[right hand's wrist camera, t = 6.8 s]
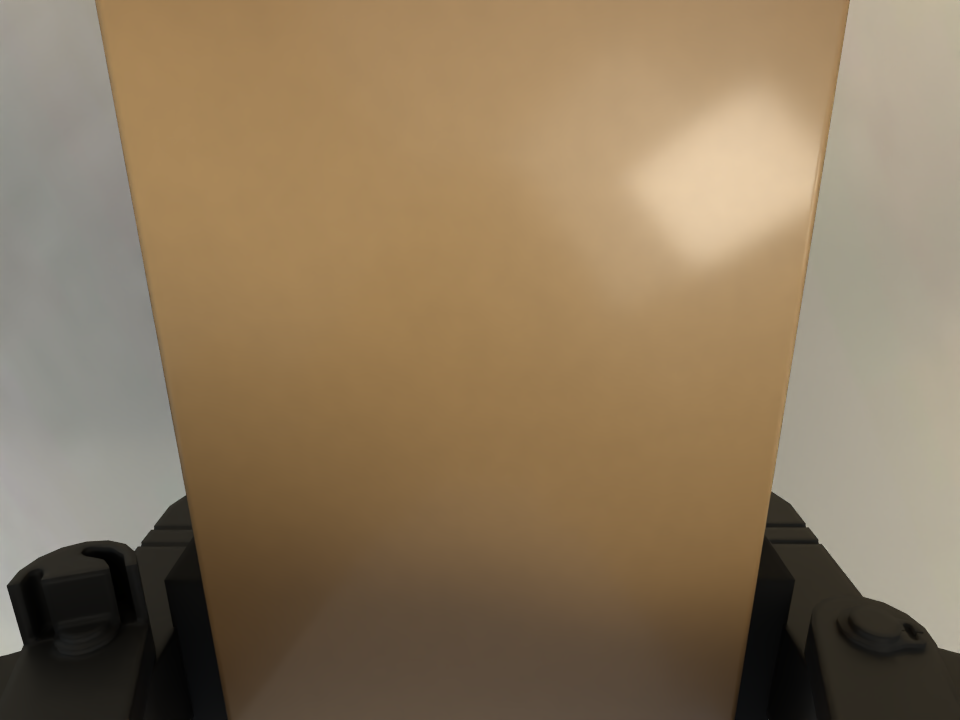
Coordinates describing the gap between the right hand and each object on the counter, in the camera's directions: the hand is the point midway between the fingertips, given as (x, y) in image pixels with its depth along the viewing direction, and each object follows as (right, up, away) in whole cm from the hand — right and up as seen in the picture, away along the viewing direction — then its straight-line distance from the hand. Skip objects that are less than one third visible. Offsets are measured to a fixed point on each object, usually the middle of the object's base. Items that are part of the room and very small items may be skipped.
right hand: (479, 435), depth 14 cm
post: (0, +25, -9) cm, 26 cm away
